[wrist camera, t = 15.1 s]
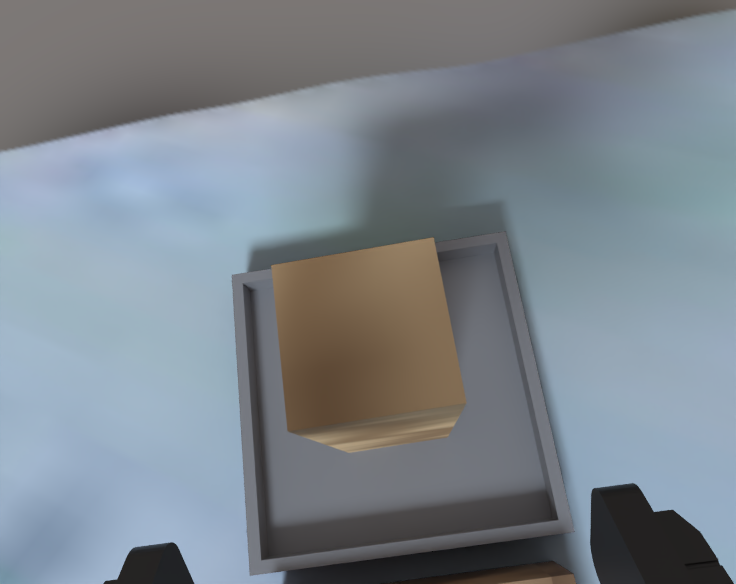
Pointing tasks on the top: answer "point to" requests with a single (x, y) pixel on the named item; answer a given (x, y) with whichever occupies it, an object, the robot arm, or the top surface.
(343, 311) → the oak peg
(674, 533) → the robot arm
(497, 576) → the square wooden frame
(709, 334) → the top surface
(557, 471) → the tray
